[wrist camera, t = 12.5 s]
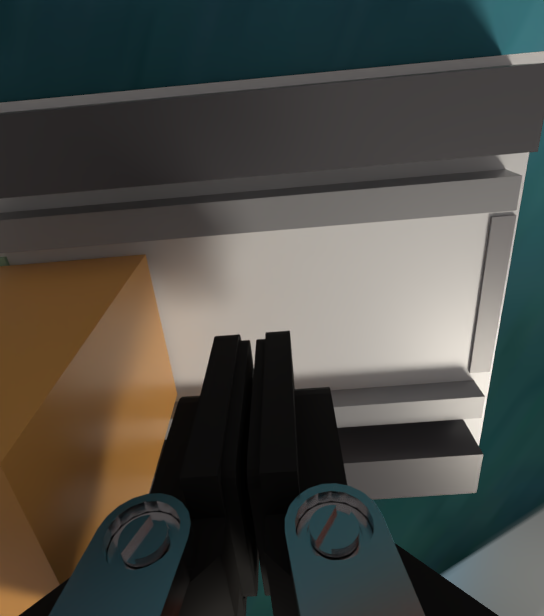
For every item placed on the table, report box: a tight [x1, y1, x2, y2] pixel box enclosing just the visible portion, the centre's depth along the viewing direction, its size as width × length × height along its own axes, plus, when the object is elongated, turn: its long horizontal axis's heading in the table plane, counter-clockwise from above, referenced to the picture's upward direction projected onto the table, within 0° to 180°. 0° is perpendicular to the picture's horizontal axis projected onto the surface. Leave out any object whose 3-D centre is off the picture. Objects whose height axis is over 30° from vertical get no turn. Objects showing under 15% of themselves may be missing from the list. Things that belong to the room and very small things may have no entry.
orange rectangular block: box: [0, 254, 177, 616], centre depth 9 cm, size 4×4×7 cm
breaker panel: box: [0, 51, 544, 499], centre depth 13 cm, size 12×14×4 cm
